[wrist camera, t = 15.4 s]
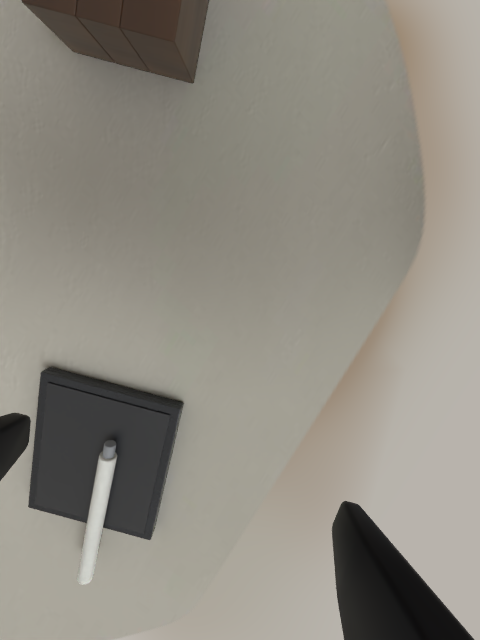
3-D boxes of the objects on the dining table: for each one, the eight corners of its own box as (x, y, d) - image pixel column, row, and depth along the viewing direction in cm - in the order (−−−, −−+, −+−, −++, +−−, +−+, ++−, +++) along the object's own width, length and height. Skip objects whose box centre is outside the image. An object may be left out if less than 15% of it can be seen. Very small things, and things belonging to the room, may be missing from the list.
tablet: (184, 402, 23) (180, 410, 22) (154, 529, 26) (149, 541, 25) (49, 366, 23) (39, 372, 22) (36, 497, 26) (26, 508, 25)
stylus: (112, 451, 22) (86, 587, 25) (123, 442, 23) (96, 573, 26) (97, 444, 22) (73, 580, 25) (108, 435, 23) (84, 566, 26)
